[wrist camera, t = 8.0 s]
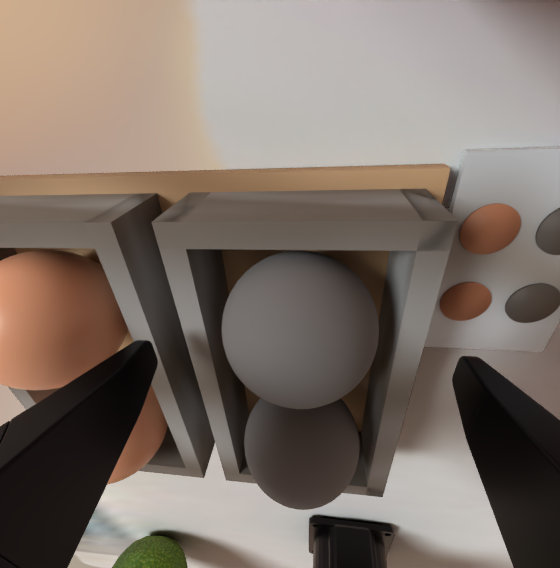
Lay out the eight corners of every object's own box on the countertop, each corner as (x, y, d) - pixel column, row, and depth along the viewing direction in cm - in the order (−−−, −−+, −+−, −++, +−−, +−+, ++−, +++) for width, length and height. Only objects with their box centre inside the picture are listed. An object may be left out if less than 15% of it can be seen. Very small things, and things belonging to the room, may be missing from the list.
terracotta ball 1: (164, 328, 14) (98, 427, 10) (68, 324, 15) (-31, 415, 11) (131, 227, 12) (23, 306, 7) (16, 228, 12) (-143, 300, 8)
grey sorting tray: (483, 446, 17) (515, 517, 14) (100, 414, 20) (63, 467, 17) (649, 143, 9) (805, 170, 6) (-48, 166, 12) (-165, 191, 9)
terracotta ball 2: (192, 412, 18) (152, 512, 14) (113, 406, 18) (51, 499, 14) (171, 350, 15) (113, 450, 11) (79, 345, 16) (-9, 438, 12)
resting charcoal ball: (350, 425, 17) (359, 539, 12) (260, 417, 17) (239, 523, 13) (358, 359, 14) (373, 476, 10) (251, 354, 15) (222, 461, 10)
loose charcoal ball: (375, 225, 10) (411, 317, 6) (361, 335, 13) (380, 451, 9) (233, 226, 11) (179, 309, 7) (248, 331, 14) (215, 437, 10)
